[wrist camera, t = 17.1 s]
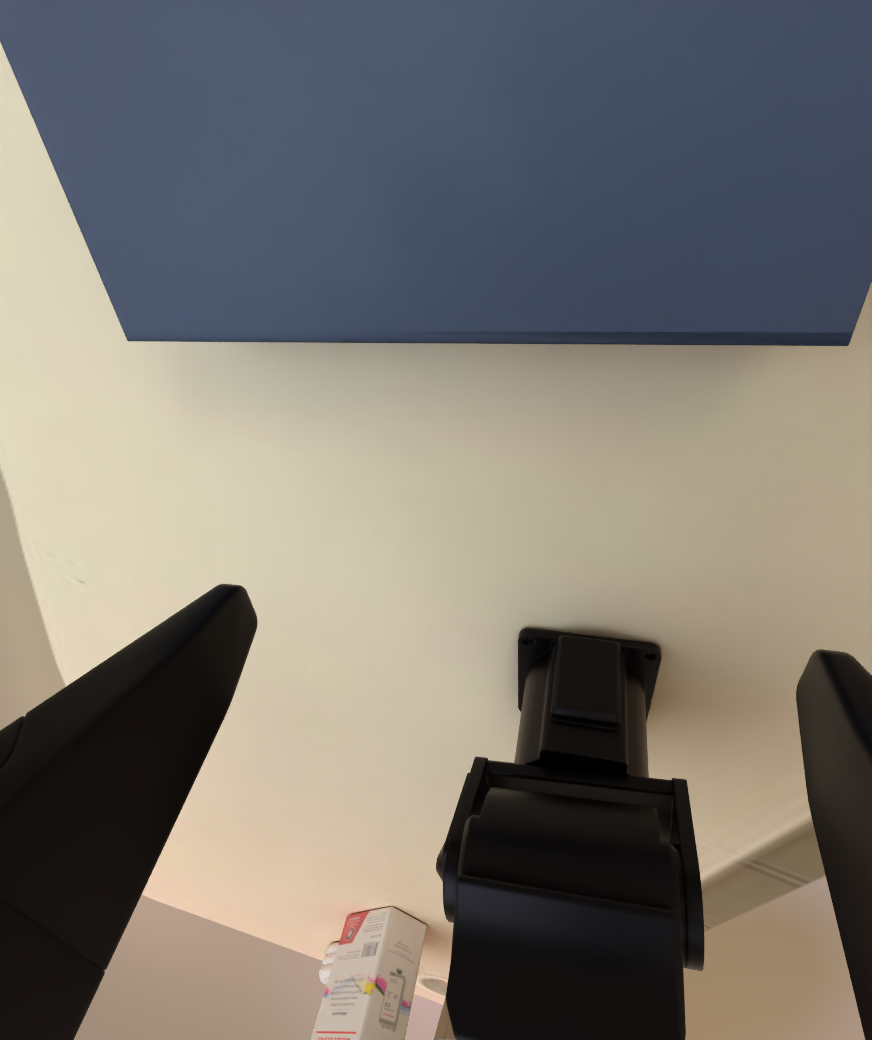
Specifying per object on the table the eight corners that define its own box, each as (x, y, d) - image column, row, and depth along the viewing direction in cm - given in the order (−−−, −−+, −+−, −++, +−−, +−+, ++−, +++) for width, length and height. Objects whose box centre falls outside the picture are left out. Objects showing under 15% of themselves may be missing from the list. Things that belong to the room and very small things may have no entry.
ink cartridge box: (382, 932, 65) (334, 1117, 54) (346, 913, 64) (290, 1098, 53) (430, 925, 60) (389, 1128, 49) (392, 904, 59) (341, 1108, 48)
